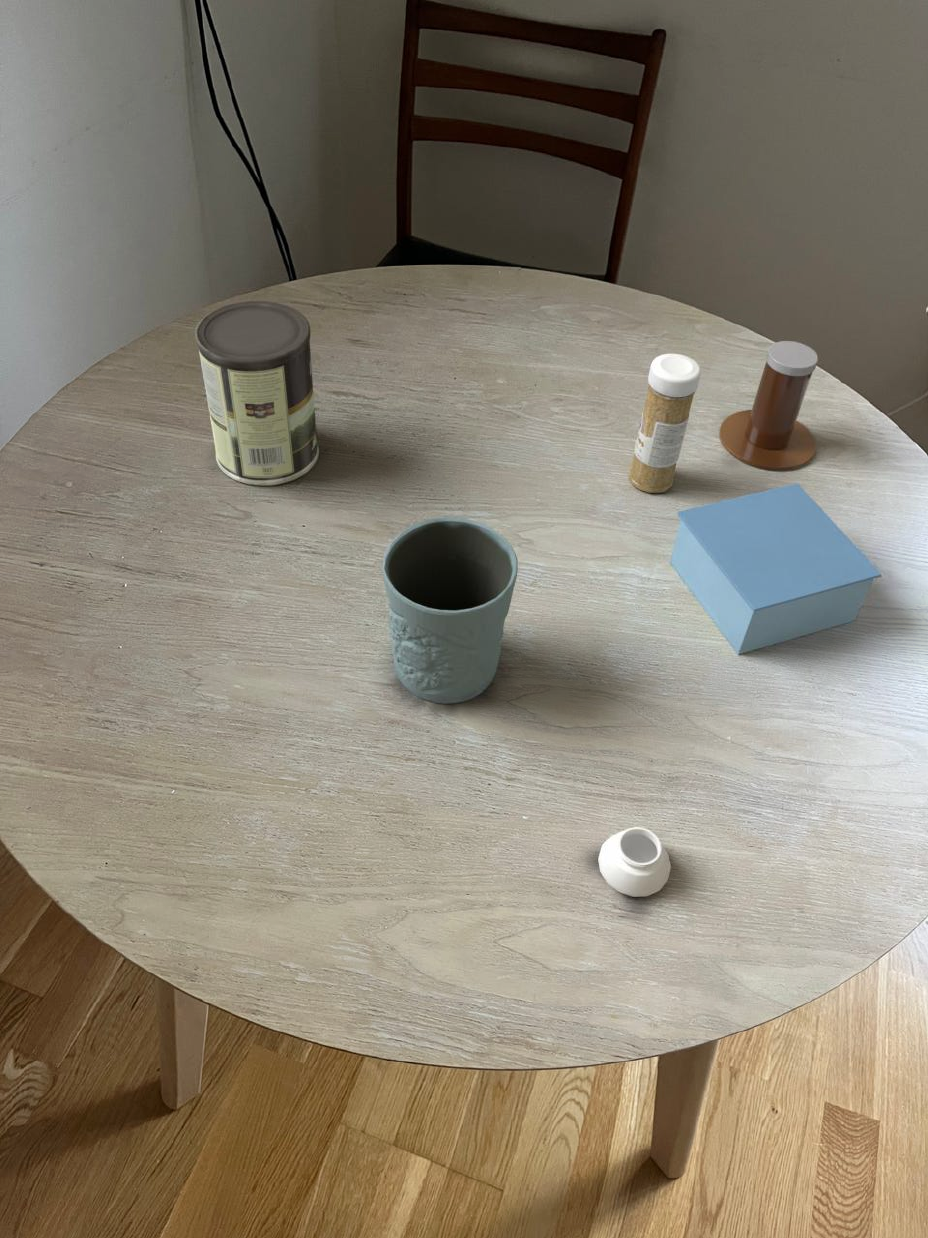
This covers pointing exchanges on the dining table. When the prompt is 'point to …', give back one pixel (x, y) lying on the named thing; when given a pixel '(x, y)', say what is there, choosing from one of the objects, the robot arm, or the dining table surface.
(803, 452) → the brown coaster
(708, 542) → the storage box
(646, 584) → the dining table surface
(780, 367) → the cylinder
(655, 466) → the sprinkles bottle
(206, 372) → the coffee can
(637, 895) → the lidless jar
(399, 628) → the embossed green cup
